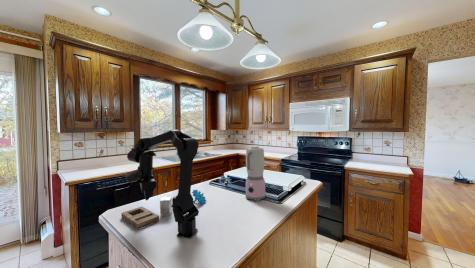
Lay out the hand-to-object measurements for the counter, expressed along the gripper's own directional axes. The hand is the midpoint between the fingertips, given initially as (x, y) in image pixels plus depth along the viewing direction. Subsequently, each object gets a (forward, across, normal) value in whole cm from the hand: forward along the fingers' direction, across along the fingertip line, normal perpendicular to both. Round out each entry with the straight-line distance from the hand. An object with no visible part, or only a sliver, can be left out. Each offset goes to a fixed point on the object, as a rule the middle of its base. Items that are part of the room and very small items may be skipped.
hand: (144, 196), depth 91 cm
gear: (+11, -4, +31) cm, 33 cm away
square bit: (+11, 0, +10) cm, 15 cm away
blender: (+8, +12, +60) cm, 61 cm away
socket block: (+12, -2, -2) cm, 12 cm away
